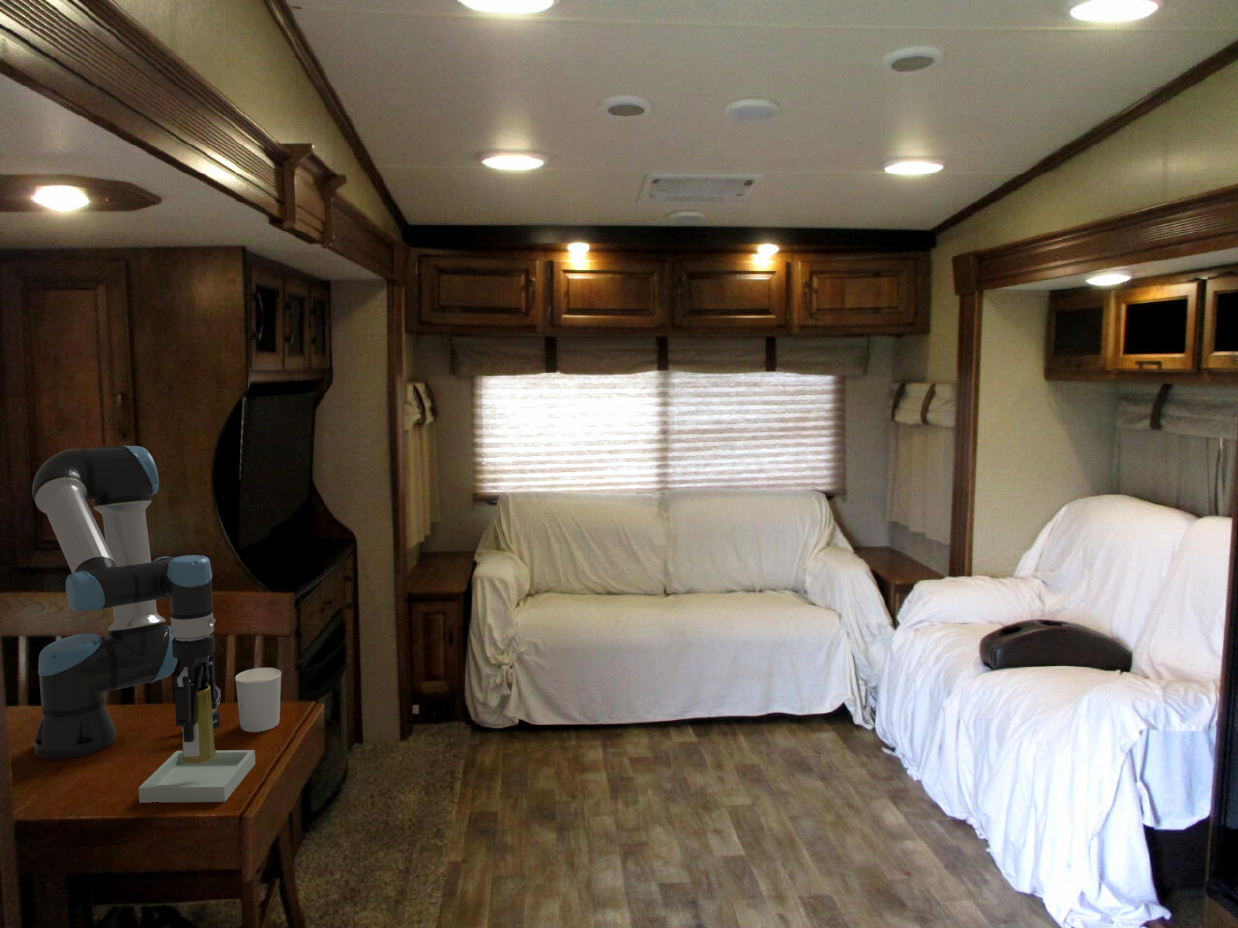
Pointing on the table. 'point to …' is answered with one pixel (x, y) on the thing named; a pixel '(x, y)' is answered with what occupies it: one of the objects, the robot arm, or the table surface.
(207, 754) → the vase
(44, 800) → the table surface
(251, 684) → the candle holder
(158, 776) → the tray
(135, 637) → the robot arm
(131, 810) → the table surface
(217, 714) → the watch
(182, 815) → the table surface
